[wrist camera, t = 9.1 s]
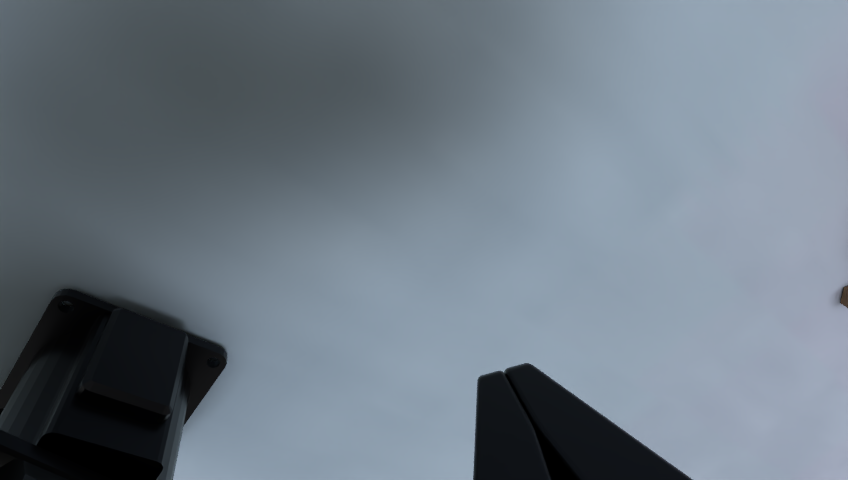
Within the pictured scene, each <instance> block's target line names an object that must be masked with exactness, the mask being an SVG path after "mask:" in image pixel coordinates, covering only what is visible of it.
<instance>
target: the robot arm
mask: <svg viewBox="0 0 848 480" xmlns="http://www.w3.org/2000/svg"><path fill="white" fill-rule="evenodd" d="M62 301H68V302H70V303H72V304H73V306H72V307H70V306H66V305H64V304H63V303H62ZM209 358H217V359H219V360H218V361H211V360H209ZM226 364H227V353H226V351H225V350H224V349H223V348H221V347H219V346H216V345H213V344H211V343H208V342H206V341H203V340H201V339H198V338H196V337H193V336H191V335H188V334H186V333H184V332H182V331H180V330H177V329H174V328H172V327H169V326H167V325H164V324H162V323H159V322H157V321H154V320H152V319H149V318H146V317H144V316H141V315H139V314H136V313H134V312H131V311H129V310H126V309H123V308H119V307H117V306H114V305H112V304H109V303H106V302H104V301H101V300H99V299H96V298H94V297H91V296H89V295H86V294H84V293H81V292H78V291H76V290H72V289H63V290H60V291H58V292H57V293H56V294H55V295H54V297H53V299H52V300H51V302H50V304H49V305H48V307H47V309H46V311H45V313H44V314H43V316H42V318H41V320H40V321H39V323H38V325H37V327H36V328H35V330H34V332H33V334H32V336H31V337H30V339H29V341H28V343H27V344H26V346H25V348H24V350H23V351H22V353H21V355H20V357H19V359H18V360H17V362H16V364H15V366H14V367H13V369H12V371H11V373H10V374H9V376H8V378H7V380H6V382H5V383H4V385H3V387H2V389H1V390H0V480H173V476H174V471H175V466H176V461H177V456H178V451H179V445H180V440H181V435H182V430H183V426H184V424H185V423H186V422H187V420H188V419H189V417H190V416H191V415H192V413H193V412H194V410H195V409H196V408H197V406H198V405H199V403H200V402H201V400H202V399H203V398H204V396H205V395H206V393H207V392H208V391H209V389H210V388H211V386H212V385H213V384H214V382H215V381H216V379H217V378H218V376H219V375H220V374H221V372H222V371H223V369H224V368H225V366H226ZM3 408H4V409H3ZM473 480H692V479H691V478H690V477H688V476H687V475H685V474H684V473H683V472H681V471H680V470H678V469H677V468H676V467H674V466H673V465H671V464H670V463H669V462H667V461H666V460H664V459H663V458H662V457H660V456H659V455H657V454H656V453H655V452H653V451H652V450H650V449H649V448H648V447H646V446H645V445H643V444H642V443H641V442H639V441H638V440H636V439H635V438H634V437H632V436H631V435H629V434H628V433H627V432H625V431H624V430H622V429H621V428H620V427H618V426H617V425H615V424H614V423H613V422H611V421H610V420H608V419H607V418H606V417H604V416H603V415H601V414H600V413H599V412H597V411H596V410H595V409H593V408H592V407H590V406H589V405H588V404H586V403H585V402H583V401H582V400H581V399H579V398H578V397H576V396H575V395H574V394H572V393H571V392H569V391H568V390H567V389H565V388H564V387H562V386H561V385H560V384H558V383H557V382H555V381H554V380H553V379H551V378H550V377H548V376H547V375H546V374H544V373H543V372H541V371H540V370H539V369H537V368H536V367H534V366H533V365H531V364H529V363H524V364H521V365H517V366H514V367H510V368H507V369H506V370H505V371H504V373H503V372H502V371H496V372H493V373H489V374H485V375H482V376H480V377H479V378H478V382H477V405H476V429H475V452H474V476H473Z"/></svg>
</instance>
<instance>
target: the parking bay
mask: <svg viewBox="0 0 848 480" xmlns="http://www.w3.org/2000/svg"><path fill="white" fill-rule="evenodd" d="M841 304H843V305H844V306H846V307H847V308H848V286H847V287H844V290H843V294H842V298H841Z"/></svg>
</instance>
